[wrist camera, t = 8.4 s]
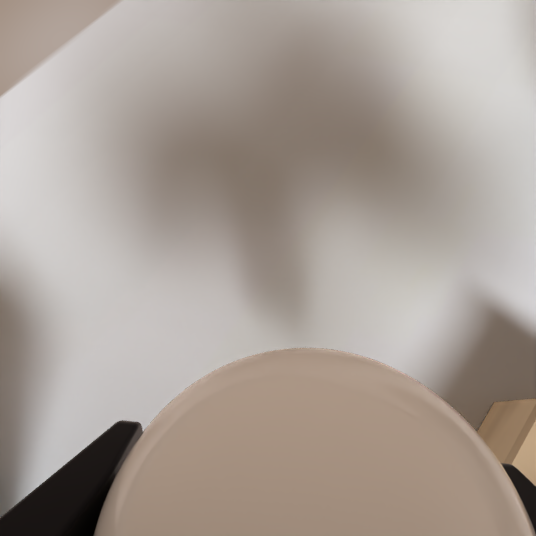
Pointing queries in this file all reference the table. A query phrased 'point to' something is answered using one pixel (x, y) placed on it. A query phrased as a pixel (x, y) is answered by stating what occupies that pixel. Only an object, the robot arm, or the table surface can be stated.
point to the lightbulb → (311, 458)
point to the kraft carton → (513, 434)
